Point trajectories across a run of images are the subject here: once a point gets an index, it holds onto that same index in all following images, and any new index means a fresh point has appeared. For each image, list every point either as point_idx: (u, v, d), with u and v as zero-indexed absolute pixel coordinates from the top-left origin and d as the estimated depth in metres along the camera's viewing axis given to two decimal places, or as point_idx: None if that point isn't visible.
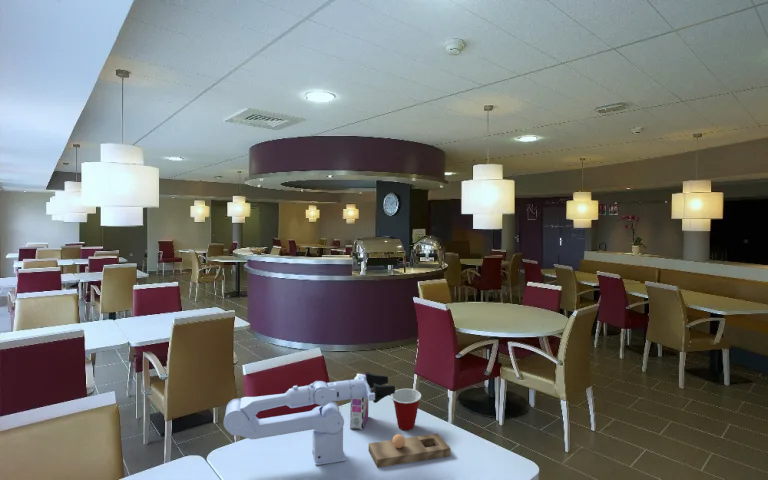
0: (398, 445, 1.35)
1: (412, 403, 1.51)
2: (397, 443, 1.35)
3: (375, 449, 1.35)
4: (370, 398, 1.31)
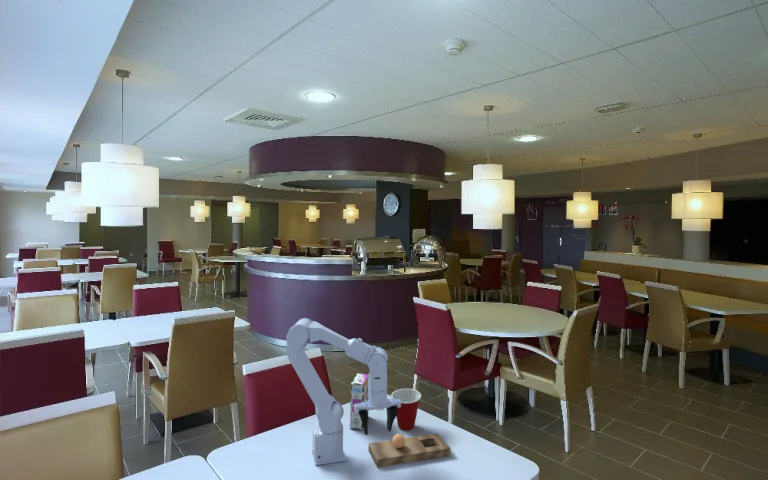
0: (398, 445, 1.35)
1: (412, 403, 1.51)
2: (397, 443, 1.35)
3: (375, 449, 1.35)
4: (354, 406, 1.32)
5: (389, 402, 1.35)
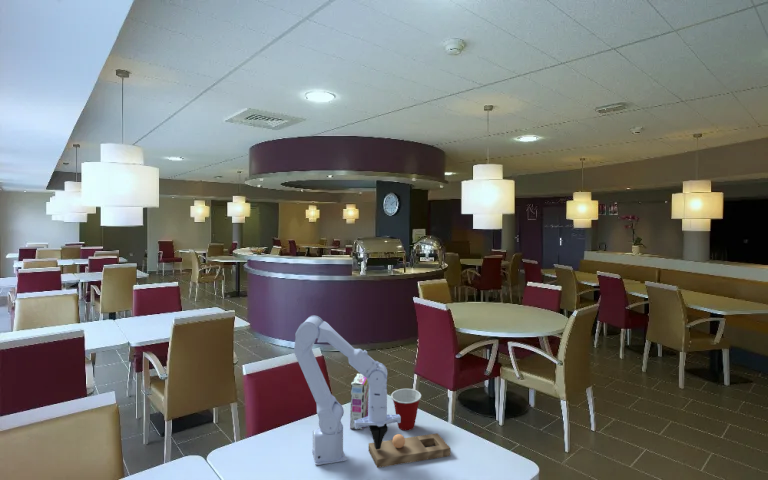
0: (398, 445, 1.35)
1: (412, 403, 1.51)
2: (397, 443, 1.35)
3: (375, 449, 1.35)
4: (354, 422, 1.33)
5: (389, 418, 1.35)
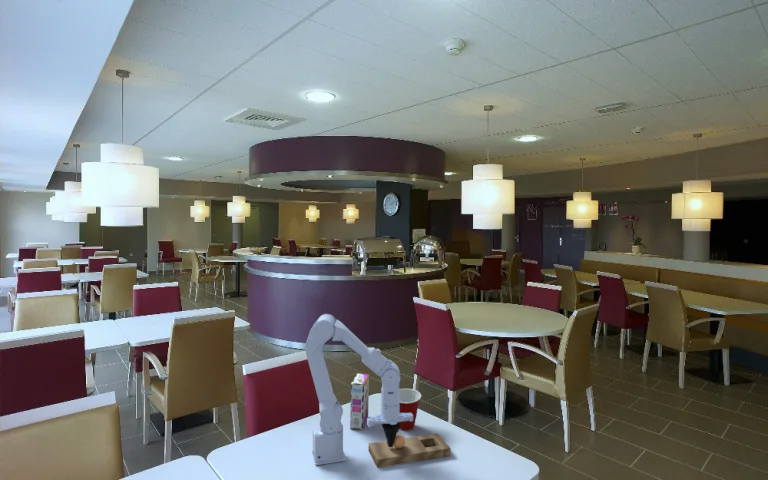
0: (398, 445, 1.35)
1: (412, 403, 1.51)
2: (397, 443, 1.35)
3: (375, 449, 1.35)
4: (367, 420, 1.34)
5: (401, 416, 1.36)
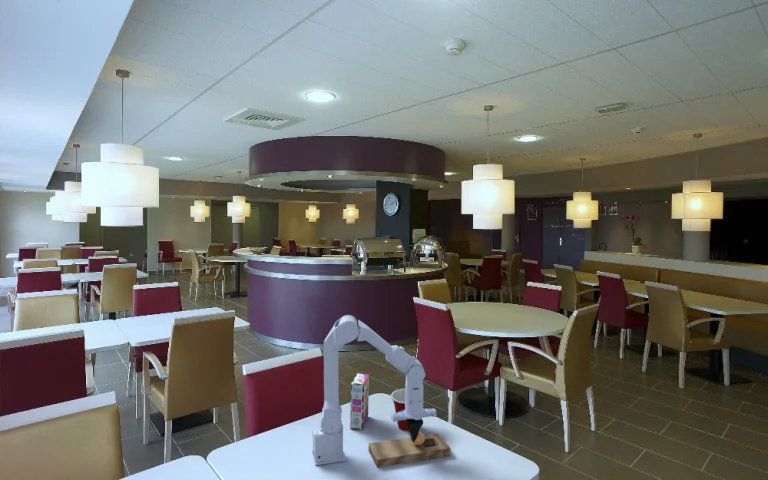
0: (422, 439, 1.37)
1: None
2: (423, 441, 1.37)
3: (375, 449, 1.35)
4: (392, 416, 1.36)
5: (425, 412, 1.39)
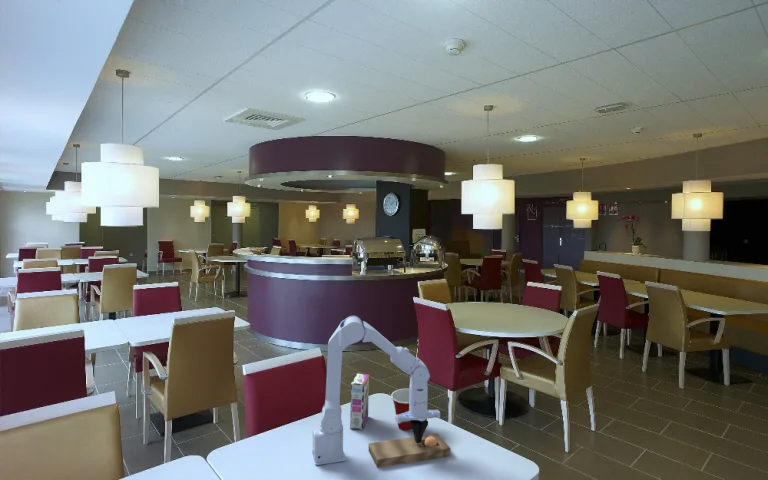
0: None
1: None
2: None
3: (375, 449, 1.35)
4: (396, 417, 1.36)
5: (429, 413, 1.39)
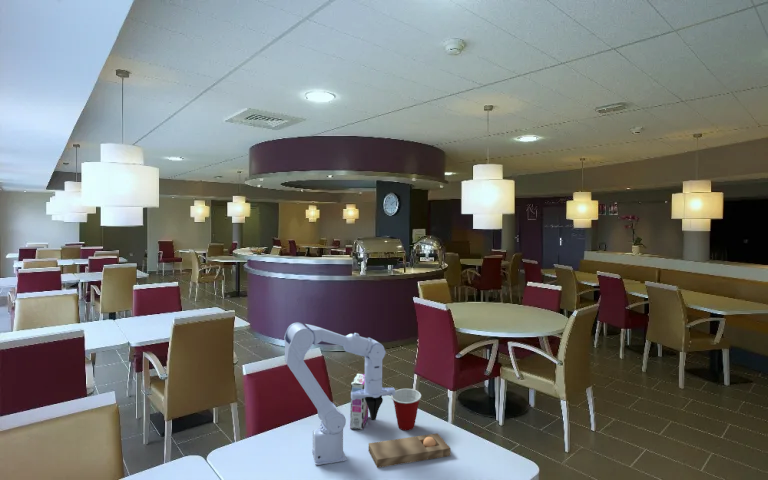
0: None
1: (412, 403, 1.51)
2: None
3: (375, 449, 1.35)
4: (351, 394, 1.39)
5: (384, 390, 1.42)
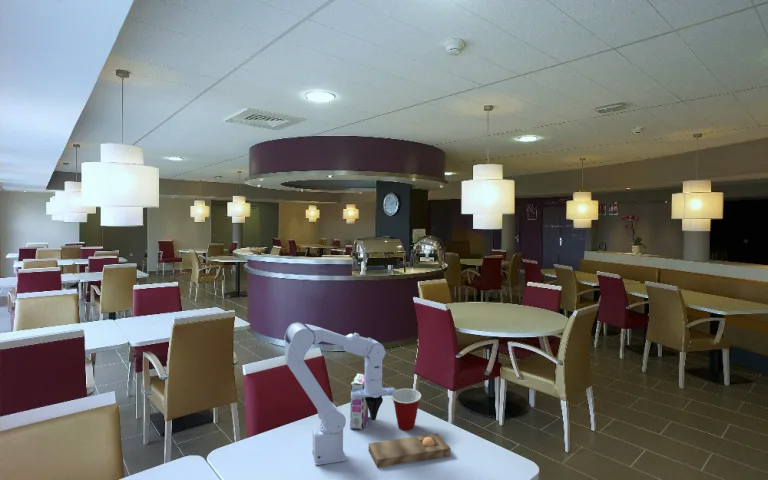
0: None
1: (412, 403, 1.51)
2: None
3: (375, 449, 1.35)
4: (351, 394, 1.39)
5: (384, 390, 1.42)
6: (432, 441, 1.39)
